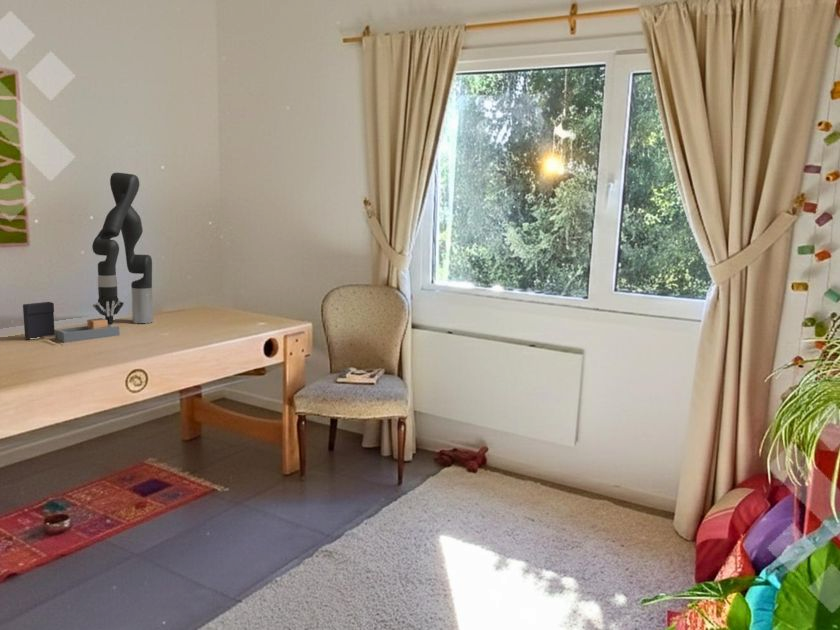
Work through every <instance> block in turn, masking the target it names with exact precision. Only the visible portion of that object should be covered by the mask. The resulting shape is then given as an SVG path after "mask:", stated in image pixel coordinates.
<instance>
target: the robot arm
mask: <svg viewBox="0 0 840 630" xmlns="http://www.w3.org/2000/svg"><path fill="white" fill-rule="evenodd" d="M109 185H110V189H111V193H112V196H113V199H114V202H115V206H114V207H113V208H112V209H110V211H108V213H107V215H106V216H105V220H104V223H103V225H102V228H101V230H100V231H99V232H98V234H97V235H96V237H95V238H94V240H93V242H92V246H91V247H92V248H91V249H92V251H93V253H94V254H95V255H96V256H106V258H105V260H102V261H101V260H100V261H99V262H98V263H97V292H98V293H97V294H98V299H97V302H96V303H94V304H92V308H94V309H95V310H96V311H97V313H99V315H101V316H105V317H104V319H105V320H108V325H111V326H112V325H113V324H114V316H115V315H118V313H119V312H120V310H121V309H122V307H123V306H124V304H125V303H124V302H122V301H120V300H119V297H118V295H119V294H118V279H117V270H116V269H117V268H116V267H117V266H116V265H117V262H118V261H117V260H118V257H119V253H120V246H119V243H118V242H117V240H115V239H113V238H117V237H118V236H120V232H121V235H122V240H123V245H124V252H125V260H126V268H127V270H128V272H129V273H130V274H136V275H137V274H142V275H143V276H142V277H141V278H140V279H137V280H132V282H131V315H132V316H131V318H132V323H133V324H137V323H145V324H151V322H152V323H154V307H153V306H154V305H153V259H152V256H150V255H149V254H136V253H135V247H136V245H137V243H138V241H139V240H140V238H141V237H142V234H143V231H144V230H143V229H144V228H143V224H142V218H141V216H140V215H139V214H138V212H137V210H135V208H134V207H133V206H132V204H133V202H134V200H135V198H136V197H137V194H138V192H139V189H140V180H139V177H138V176H137V175H136V174H131V173H125V172H113V173H112V174H111V175H110V179H109ZM101 307H102V308H101Z"/></svg>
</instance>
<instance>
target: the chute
mask: <svg viewBox="0 0 840 630" xmlns="http://www.w3.org/2000/svg"><path fill="white" fill-rule="evenodd" d="M54 332H55V335H54V340H57V341H60V342H62V343H64V344H66V343H67V344H68V343H72V342H73V343H75V342H81V341H88V340H89V341H90V340H94V339H102V338H110V337H119V336H120V326H117V325H116V326H112V324H111V325H108V327H107V328H99V329H91V330H88V327H87V325H85V326H74V327H69V328H58V329H54ZM60 344H61V343H60ZM61 346H63V344H61Z"/></svg>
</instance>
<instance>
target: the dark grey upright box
mask: <svg viewBox="0 0 840 630" xmlns="http://www.w3.org/2000/svg"><path fill="white" fill-rule="evenodd" d="M54 312H55V305H54V303H53V302H51V301H44V302H33V303H24V304H22V313H23V325H24V326H23V327H24V339H25V338H27V339H30V338H37V337H45V336H46V337H47V336H55V332H54V330H55V317H54V316H55V313H54ZM27 339H26V340H27Z"/></svg>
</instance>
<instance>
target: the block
mask: <svg viewBox="0 0 840 630" xmlns="http://www.w3.org/2000/svg"><path fill="white" fill-rule="evenodd" d="M86 322H87V324H86V326H87V327H88V330H91V329H99V328H107V327H108V320H105V318H102V317H101V318H100V317H99V318H91V319H86Z"/></svg>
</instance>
